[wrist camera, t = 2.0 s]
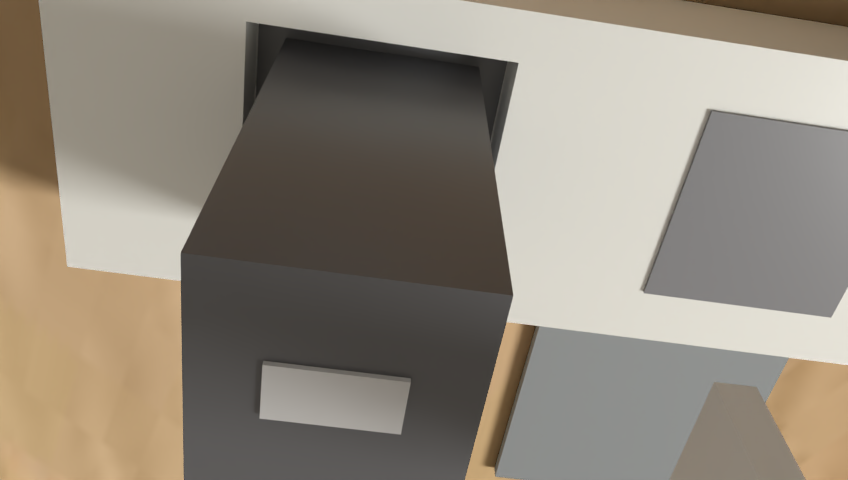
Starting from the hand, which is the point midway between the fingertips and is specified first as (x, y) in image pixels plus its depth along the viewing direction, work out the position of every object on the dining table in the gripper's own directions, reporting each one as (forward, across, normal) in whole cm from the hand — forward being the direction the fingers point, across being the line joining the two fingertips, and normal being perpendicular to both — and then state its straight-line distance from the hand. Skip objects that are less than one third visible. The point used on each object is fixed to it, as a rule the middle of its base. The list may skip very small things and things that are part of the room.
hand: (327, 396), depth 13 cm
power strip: (+12, +8, 0) cm, 14 cm away
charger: (+10, 0, 0) cm, 10 cm away
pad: (+12, +11, -10) cm, 19 cm away
